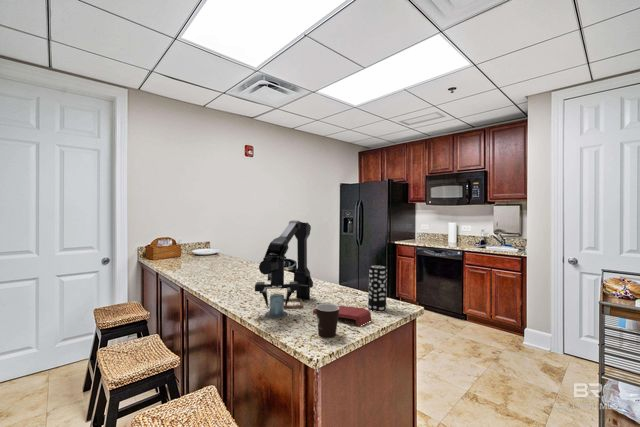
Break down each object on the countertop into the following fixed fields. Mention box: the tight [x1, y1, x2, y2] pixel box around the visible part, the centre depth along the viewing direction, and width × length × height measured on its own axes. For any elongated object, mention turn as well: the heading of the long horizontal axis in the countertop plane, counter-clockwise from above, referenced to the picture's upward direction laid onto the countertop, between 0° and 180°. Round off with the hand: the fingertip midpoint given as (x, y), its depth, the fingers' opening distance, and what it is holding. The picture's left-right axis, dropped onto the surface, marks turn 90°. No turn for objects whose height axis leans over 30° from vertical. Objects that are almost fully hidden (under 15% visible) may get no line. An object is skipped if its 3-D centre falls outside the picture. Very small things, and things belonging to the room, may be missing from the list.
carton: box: [312, 305, 372, 327], centre depth 129 cm, size 12×5×25 cm
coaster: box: [264, 310, 289, 320], centre depth 129 cm, size 10×10×1 cm
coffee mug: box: [315, 303, 339, 339], centre depth 111 cm, size 12×9×10 cm
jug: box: [269, 293, 285, 316], centre depth 128 cm, size 8×6×8 cm
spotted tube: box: [367, 264, 388, 312], centre depth 140 cm, size 8×8×20 cm
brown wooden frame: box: [284, 297, 304, 310], centre depth 144 cm, size 15×12×1 cm
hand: (276, 306), depth 129 cm, fingers open, 8 cm apart
